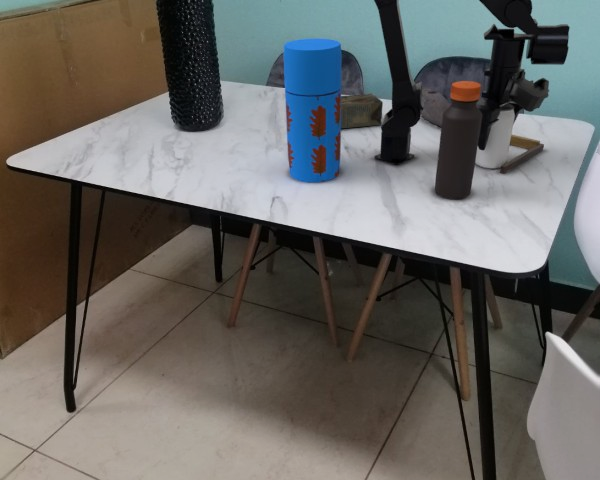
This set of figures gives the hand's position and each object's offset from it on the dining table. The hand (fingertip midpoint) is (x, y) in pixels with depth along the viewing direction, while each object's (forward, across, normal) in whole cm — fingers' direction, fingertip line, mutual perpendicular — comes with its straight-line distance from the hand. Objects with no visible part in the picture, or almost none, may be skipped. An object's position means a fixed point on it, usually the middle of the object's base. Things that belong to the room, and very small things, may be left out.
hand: (493, 143), depth 118 cm
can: (+4, 0, 0) cm, 5 cm away
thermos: (+4, -28, +25) cm, 37 cm away
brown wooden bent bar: (+4, +6, 0) cm, 7 cm away
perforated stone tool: (+4, +16, +24) cm, 29 cm away
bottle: (+4, -18, -2) cm, 18 cm away
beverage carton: (+4, 0, +41) cm, 41 cm away
